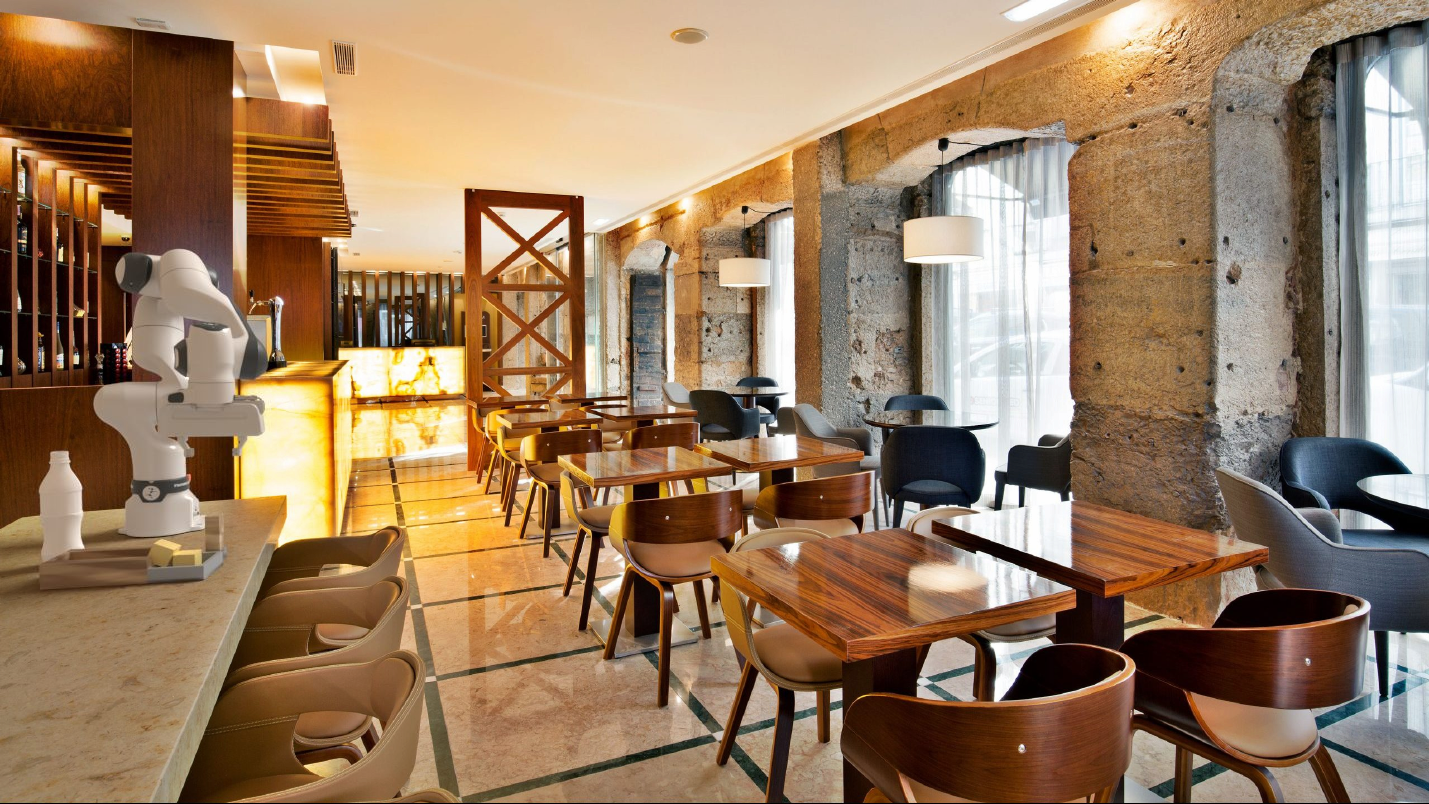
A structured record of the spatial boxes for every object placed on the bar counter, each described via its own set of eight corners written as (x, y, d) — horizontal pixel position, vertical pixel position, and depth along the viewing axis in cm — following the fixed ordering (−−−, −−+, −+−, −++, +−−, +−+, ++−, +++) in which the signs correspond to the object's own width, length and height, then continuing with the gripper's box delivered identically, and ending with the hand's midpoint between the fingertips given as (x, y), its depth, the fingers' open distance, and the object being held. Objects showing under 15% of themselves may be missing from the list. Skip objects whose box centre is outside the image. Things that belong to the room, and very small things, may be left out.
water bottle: (59, 570, 161) (55, 454, 160) (32, 568, 163) (28, 453, 161) (93, 561, 168) (89, 450, 167) (67, 559, 170) (63, 449, 168)
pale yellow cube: (180, 550, 163) (201, 549, 164) (180, 568, 163) (201, 567, 164) (172, 555, 159) (194, 554, 160) (173, 573, 159) (195, 572, 160)
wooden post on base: (212, 557, 174) (211, 512, 173) (226, 556, 174) (226, 512, 174) (202, 564, 168) (201, 518, 167) (218, 563, 169) (217, 517, 168)
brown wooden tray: (71, 572, 160) (70, 549, 160) (170, 567, 165) (169, 544, 165) (40, 589, 149) (39, 564, 148) (147, 583, 154) (146, 559, 154)
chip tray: (170, 567, 165) (170, 553, 165) (222, 564, 168) (222, 551, 168) (147, 583, 154) (146, 568, 154) (203, 580, 157) (203, 565, 157)
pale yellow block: (153, 556, 161) (161, 538, 161) (173, 562, 162) (181, 545, 162) (145, 561, 157) (153, 543, 157) (165, 567, 158) (174, 550, 158)
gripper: (268, 394, 175) (269, 453, 176) (165, 393, 169) (166, 455, 170) (260, 396, 169) (261, 457, 170) (153, 395, 163) (155, 459, 164)
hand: (213, 456), depth 170 cm, fingers open, 8 cm apart
